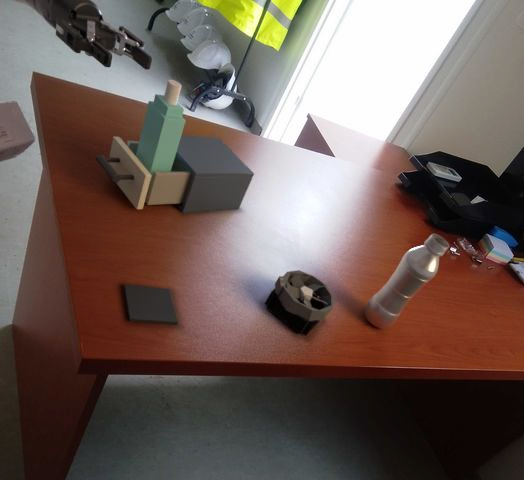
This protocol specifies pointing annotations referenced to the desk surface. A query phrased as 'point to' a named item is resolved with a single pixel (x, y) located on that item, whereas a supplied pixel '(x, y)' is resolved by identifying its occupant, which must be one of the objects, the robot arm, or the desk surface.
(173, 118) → the soap bottle
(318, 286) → the cpu cooler
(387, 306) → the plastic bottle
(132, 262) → the desk surface
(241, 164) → the cabinet
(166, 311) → the mat
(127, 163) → the drawer
